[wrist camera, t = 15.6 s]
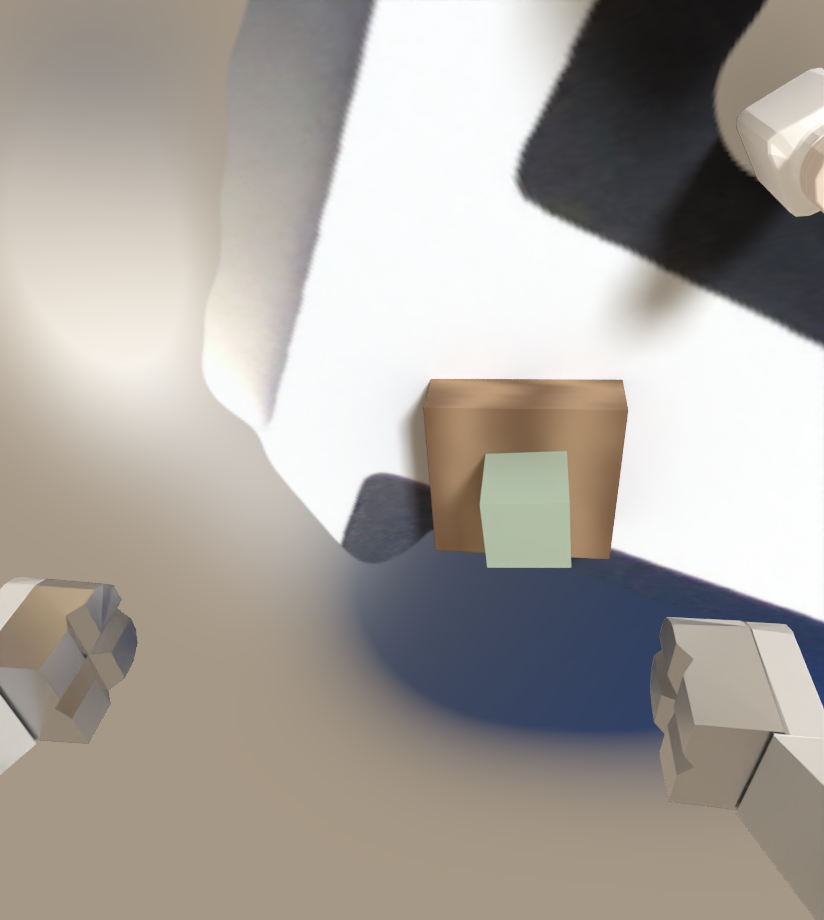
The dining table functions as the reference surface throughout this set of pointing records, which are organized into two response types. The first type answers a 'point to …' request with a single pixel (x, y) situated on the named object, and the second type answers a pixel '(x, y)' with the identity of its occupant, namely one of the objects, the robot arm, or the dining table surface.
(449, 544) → the walnut block
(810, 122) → the salt shaker
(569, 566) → the green cube
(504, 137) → the dining table surface
